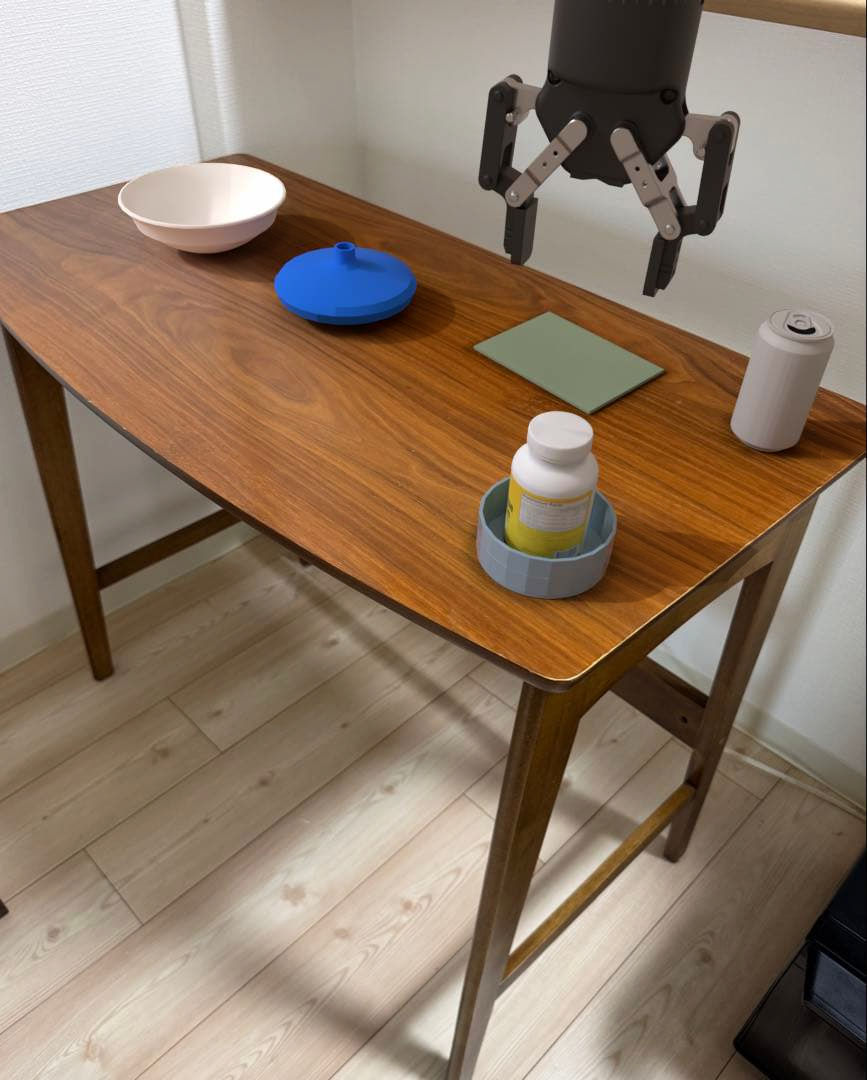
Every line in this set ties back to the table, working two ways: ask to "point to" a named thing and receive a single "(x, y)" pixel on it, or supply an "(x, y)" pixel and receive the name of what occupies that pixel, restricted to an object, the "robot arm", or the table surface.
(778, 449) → the beverage can
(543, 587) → the grey-blue round dish
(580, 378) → the mat
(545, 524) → the pill bottle
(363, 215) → the table surface
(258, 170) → the bowl
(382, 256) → the vase
